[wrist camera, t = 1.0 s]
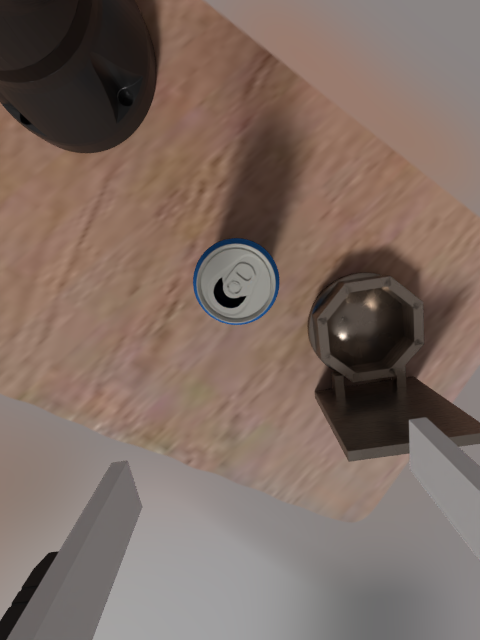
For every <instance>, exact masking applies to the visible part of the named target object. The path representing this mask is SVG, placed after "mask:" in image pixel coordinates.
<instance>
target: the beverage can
mask: <svg viewBox="0 0 480 640" xmlns="http://www.w3.org/2000/svg"><path fill="white" fill-rule="evenodd" d="M193 286H194V292H195V295H196V298H197V300H198V302H199V304H200V305H201V307H202V308H203V309H204V311H205V312H206V313H207V314H209V315H210V316H211V317H213V318H214V319H216V320H218V321H220V322H223V323H226V324H231V325H242V324H247V323H250V322H253V321H255V320H257V319H259V318H260V317H262V316H263V315H264V314H265V313H266V312H267V311H268V310H269V309H270V308H271V307H272V305H273V303H274V302H275V300H276V297H277V294H278V290H279V273H278V269H277V266H276V264H275V262H274V260H273V258H272V257H271V255H270V254H269V253H268V252H267V251H266V250H265V249H264V248H263V247H261V246H260V245H259V244H257V243H255V242H253V241H250V240H246V239H240V238H232V239H226V240H223V241H220V242H218V243H216V244H214V245H212V246H211V247H210V248H208V249H207V250H206V251H205V252H204V253H203V255H202V256H201V257H200V259H199V261H198V263H197V265H196V268H195V271H194V277H193Z"/></svg>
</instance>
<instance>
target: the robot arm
mask: <svg viewBox="0 0 480 640" xmlns="http://www.w3.org/2000/svg"><path fill="white" fill-rule="evenodd" d="M155 81H156V63H155V55H154V49H153V45H152V41H151V38H150V35H149V32H148V30H147V27H146V25H145V22H144V20H143V18H142V15H141V13H140V11H139V8H138V6H137V4H136V2H135V0H0V102H1V104H2V105H3V106H4V107H5V109H6V110H7V111H8V112H9V113H10V114H11V115H12V116H13V117H14V118H15V119H16V120H17V121H18V122H19V123H20V124H22V125H23V126H24V127H25V128H27V129H28V130H29V131H31V132H32V133H34V134H36V135H37V136H39V137H40V138H42V139H44V140H45V141H47V142H49V143H51V144H53V145H54V146H57V147H59V148H62V149H64V150H68V151H72V152H78V153H95V152H101V151H105V150H108V149H110V148H113V147H115V146H117V145H119V144H120V143H122V142H123V141H125V140H126V139H127V138H129V137H130V136H131V135H132V134H133V133H134V132H135V131H136V129H137V128H138V127H139V126H140V124H141V123H142V121H143V120H144V118H145V116H146V114H147V112H148V110H149V107H150V105H151V101H152V98H153V94H154V89H155ZM409 447H410V471H411V472H412V473H413V475H414V476H415V477H416V478H417V480H418V481H419V482H420V484H421V485H422V486H423V488H424V489H425V490H426V492H427V493H428V494H429V495H430V497H431V498H432V499H433V501H434V502H435V503H436V505H437V506H438V507H439V509H440V510H441V511H442V512H443V514H444V515H445V516H446V518H447V519H448V520H449V522H450V523H451V524H452V525H453V527H454V528H455V529H456V531H457V532H458V533H459V535H460V536H461V537H462V538H463V540H464V541H465V542H466V544H467V545H468V546H469V548H470V549H471V550H472V552H473V553H474V554H475V555H476V557H477V558H478V559H479V561H480V466H479V465H478V464H477V463H476V462H475V461H474V460H472V459H471V458H470V457H469V456H468V455H467V454H466V453H464V451H463V450H461V449H460V448H459V447H458V446H457V445H456V444H455V443H454V442H453V441H452V440H450V439H449V438H448V437H447V436H446V435H445V434H444V433H443V432H442V431H441V430H440V429H438V428H437V427H436V426H435V425H434V424H433V423H432V422H431V421H430V420H429V419H427V418H426V417H424V418H417V419H411V420H409ZM141 509H142V505H141V501H140V498H139V495H138V492H137V489H136V486H135V482H134V479H133V476H132V473H131V470H130V467H129V463H128V461H121V462H114V463H111V465H110V467H109V469H108V470H107V472H106V473H105V475H104V477H103V478H102V480H101V482H100V484H99V485H98V487H97V489H96V490H95V492H94V494H93V496H92V497H91V499H90V500H89V502H88V504H87V505H86V507H85V509H84V510H83V512H82V514H81V515H80V517H79V519H78V521H77V522H76V524H75V525H74V527H73V529H72V531H71V533H70V534H69V536H68V537H67V539H66V541H65V542H64V544H63V546H62V548H61V549H60V551H59V552H51V553H48V554H47V555H46V556H45V558H44V559H43V560H42V561H41V562H40V563H39V564H38V565H37V566H36V567H35V568H34V569H33V571H32V572H31V574H30V576H29V577H28V579H27V580H26V582H25V583H24V585H23V586H22V590H21V591H19V593H18V594H17V596H16V597H15V599H14V600H13V602H12V606H11V607H9V608H8V610H7V611H6V613H5V614H4V616H3V617H2V619H1V621H0V640H92V639H93V636H94V634H95V631H96V628H97V626H98V623H99V620H100V618H101V615H102V612H103V610H104V607H105V604H106V602H107V599H108V596H109V594H110V591H111V588H112V586H113V583H114V580H115V578H116V575H117V572H118V570H119V567H120V565H121V562H122V559H123V557H124V554H125V551H126V549H127V546H128V543H129V541H130V538H131V535H132V532H133V530H134V527H135V525H136V522H137V519H138V517H139V514H140V511H141Z"/></svg>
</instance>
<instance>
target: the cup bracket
mask: <svg viewBox="0 0 480 640" xmlns="http://www.w3.org/2000/svg"><path fill="white" fill-rule="evenodd" d="M308 336H309V340H310V343H311V346H312V348H313V350H314V352H315V353H316V354H317V356H318V357H319V358H320V360H321V361H322V362H323V363H324V364H326V365H327V366H328V367H330V368H331V369H333V370H335V371H337V372H331V376H332V386H333V388H332V389H326V390H319V391H315V398H316V400H317V402H318V404H319V406H320V408H321V410H322V412H323V414H324V416H325V417H326V419H327V421H328V423H329V425H330V427H331V429H332V431H333V433H334V435H335V436H336V438H337V440H338V442H339V444H340V446H341V448H342V450H343V452H344V454H345V455H346V457H347V459H348V461H357V460H364V459H371V458H379V457H386V456H393V455H400V454H408V453H410V447H409V420H411V419H417V418H424V417H426V418H427V419H429V420H430V421H431V422H432V423H433V424H434V425H435V426H436V427H437V428H438V429H440V430H441V431H442V432H443V433H444V434H445V435H446V436H447V437H448V438H449V439H450V440H452V441H453V442H454V443H455V444H456V445H457V446H458V447H459V446H466V445H473V444H480V423H479V422H478V421H477V420H475V419H474V418H472V417H471V416H470V415H468V414H467V413H465V412H464V411H462V410H461V409H460V408H458V407H457V406H455V405H454V404H452V403H451V402H449V401H448V400H447V399H445V398H444V397H442V396H441V395H439V394H438V393H436V392H435V391H434V390H432V389H431V388H429V387H428V386H426V385H425V384H423V383H422V382H421V381H419V380H418V379H416V378H415V377H407V378H406V367H405V365H406V363H407V362H408V361H409V360H410V359H411V358H412V357H413V356H414V355H415V354H416V352H417V351H418V350H419V349H420V348H421V347H422V346H423V345H424V317H423V302H422V301H421V300H420V299H419V298H417V297H416V296H415V295H413V294H412V293H411V292H410V291H408V290H407V289H406V288H405V287H403V286H402V285H401V284H400V283H398V282H397V281H396V280H395V279H393V278H392V277H391V276H386V275H380V274H374V273H355V274H350V275H347V276H344V277H342V278H340V279H338V280H336V281H334V282H333V283H331V284H330V285H329V286H327V287H326V288H325V289H324V290H323V291H322V292H321V294H320V295H319V296H318V297H317V299H316V300H315V302H314V304H313V306H312V308H311V311H310V314H309V319H308ZM343 375H344V376H345V377H346V378H348V379H349V380H351V381H352V382H359V381H366V380H372V379H379V378H386V377H392V380H387V381H380V382H373V383H366V384H360V385H353V386H346V387H344V379H343Z"/></svg>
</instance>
